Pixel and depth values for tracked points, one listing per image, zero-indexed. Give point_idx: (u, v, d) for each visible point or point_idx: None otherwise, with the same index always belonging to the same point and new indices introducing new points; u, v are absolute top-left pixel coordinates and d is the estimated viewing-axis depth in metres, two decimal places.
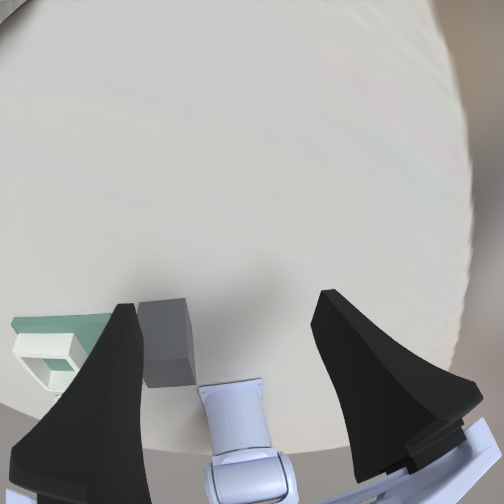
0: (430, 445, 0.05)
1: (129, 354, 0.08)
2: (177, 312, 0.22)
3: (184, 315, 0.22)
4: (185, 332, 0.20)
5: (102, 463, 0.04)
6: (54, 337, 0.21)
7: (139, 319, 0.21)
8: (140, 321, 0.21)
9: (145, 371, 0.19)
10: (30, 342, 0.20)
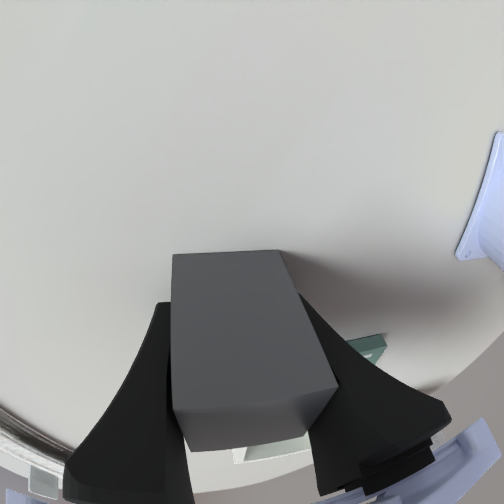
0: (389, 467, 0.05)
1: None
2: None
3: (171, 293, 0.09)
4: (171, 335, 0.07)
5: (170, 467, 0.04)
6: None
7: None
8: None
9: (231, 445, 0.08)
10: None
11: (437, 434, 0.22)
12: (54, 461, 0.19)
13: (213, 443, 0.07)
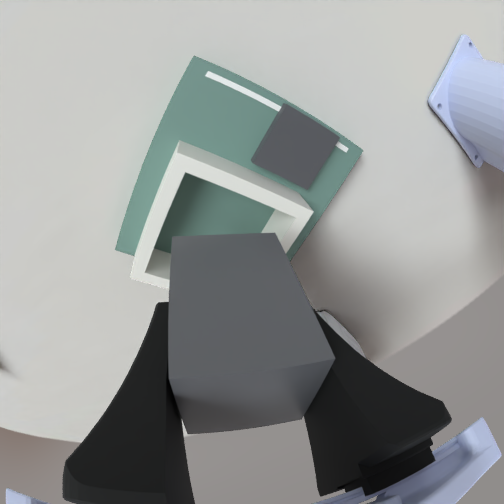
0: (389, 467, 0.05)
1: None
2: None
3: (170, 271, 0.09)
4: (169, 308, 0.08)
5: (170, 467, 0.04)
6: (162, 179, 0.14)
7: None
8: None
9: (228, 426, 0.08)
10: (143, 232, 0.15)
11: None
12: None
13: (210, 423, 0.08)
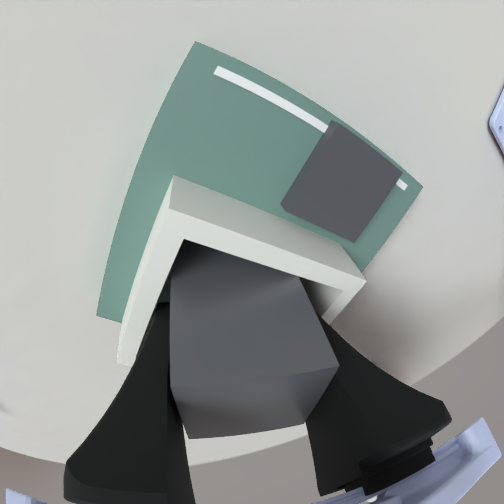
0: (389, 467, 0.05)
1: None
2: None
3: (171, 275, 0.09)
4: (170, 314, 0.07)
5: (171, 467, 0.04)
6: (150, 235, 0.10)
7: None
8: None
9: (229, 431, 0.08)
10: (128, 305, 0.10)
11: None
12: None
13: (211, 428, 0.07)
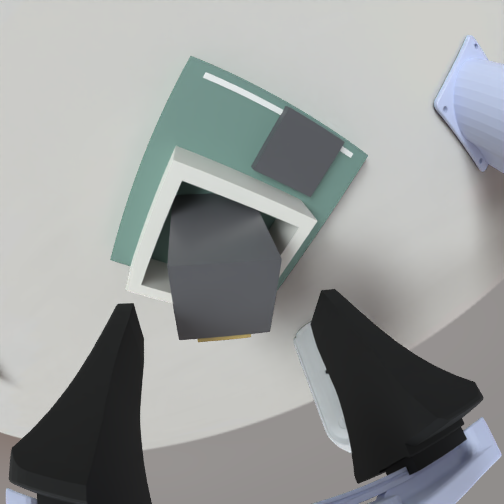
0: (430, 445, 0.05)
1: (129, 354, 0.08)
2: None
3: (171, 214, 0.13)
4: (170, 233, 0.11)
5: (102, 463, 0.04)
6: (158, 187, 0.13)
7: None
8: None
9: (210, 330, 0.12)
10: (138, 243, 0.14)
11: None
12: None
13: (196, 324, 0.11)
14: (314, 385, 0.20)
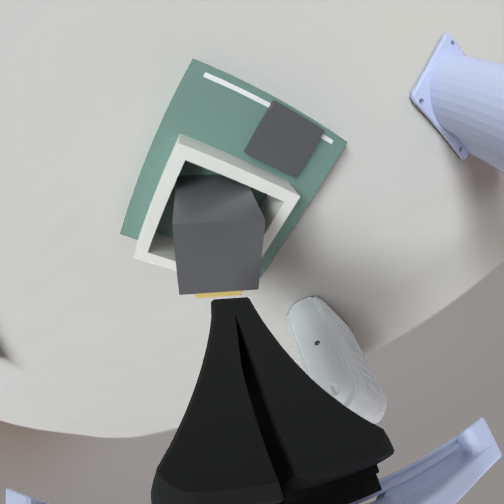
0: (320, 493, 0.05)
1: None
2: None
3: None
4: None
5: None
6: (164, 168, 0.16)
7: None
8: None
9: (206, 285, 0.14)
10: (146, 216, 0.16)
11: None
12: None
13: (194, 279, 0.14)
14: (305, 357, 0.22)
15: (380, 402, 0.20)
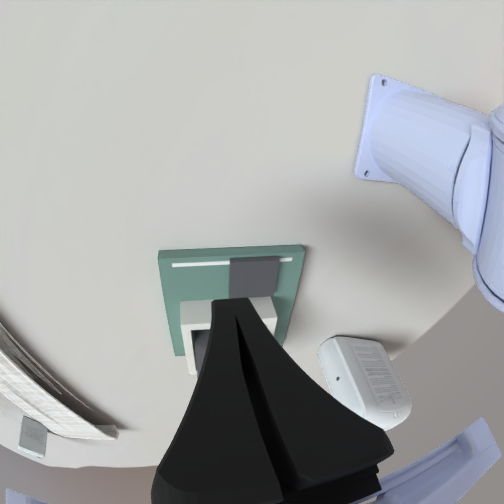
0: (320, 493, 0.05)
1: None
2: None
3: (194, 339, 0.22)
4: (196, 356, 0.21)
5: None
6: None
7: None
8: None
9: None
10: None
11: (395, 380, 0.28)
12: (48, 393, 0.26)
13: None
14: (332, 388, 0.28)
15: (396, 411, 0.24)
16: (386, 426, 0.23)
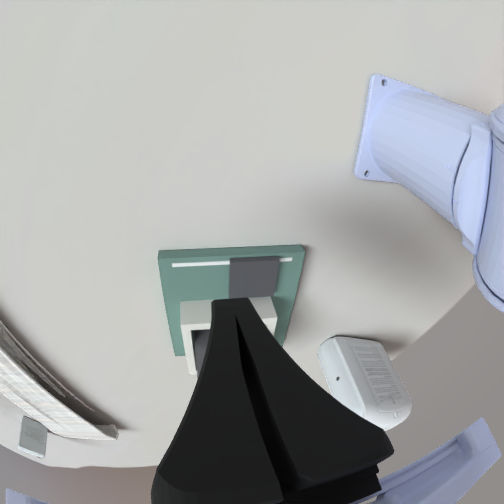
0: (320, 493, 0.05)
1: None
2: None
3: (194, 339, 0.22)
4: (196, 356, 0.21)
5: None
6: None
7: None
8: None
9: None
10: None
11: (395, 380, 0.28)
12: (49, 393, 0.26)
13: None
14: (332, 388, 0.28)
15: (396, 411, 0.24)
16: (386, 426, 0.23)
